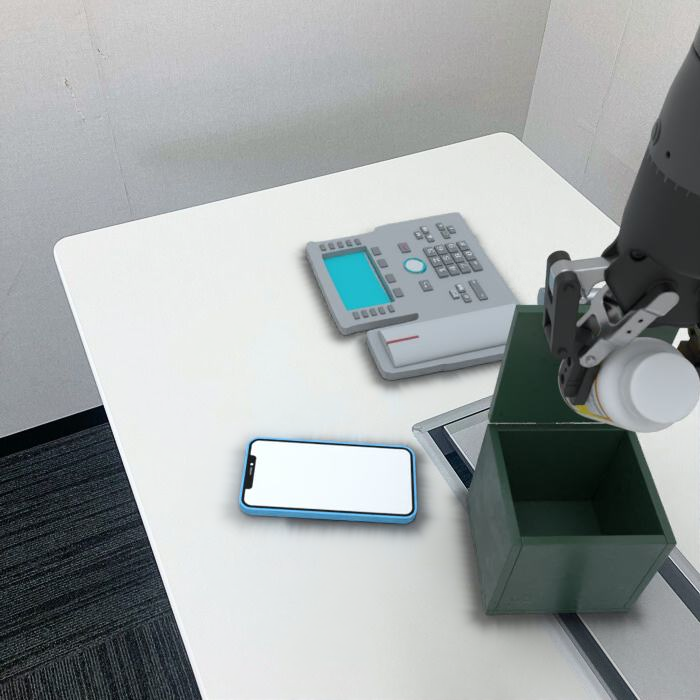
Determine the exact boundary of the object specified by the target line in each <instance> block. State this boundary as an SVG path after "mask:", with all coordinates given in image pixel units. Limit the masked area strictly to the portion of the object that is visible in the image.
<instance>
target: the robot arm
mask: <svg viewBox="0 0 700 700" xmlns="http://www.w3.org/2000/svg"><path fill="white" fill-rule="evenodd" d="M545 267H546V268H545V269H546V270H545V280H544V281H545V282H544V284H545V285H544V288H545V294H544V308H543V322H542V325H543V328H544V331H545V335H546V338H547V341H548V344H549V348H550V351H551V354H552V357H553V358H555V359H558V360H562V359H564V360H563V364H562V366H561V369H560V371H559V379H560V382H561V386H562V389H563V392H564V395H565V397H569V400H570V403H571V405H585V403H586V400H587V398H588V396H589V393H590V391H591V388H592V385H593V383H594V381H595V379H596V377H597V374H598V372H599V369H600V365H599V363H600V362H601V361H602V360H603V359H604V358H605V357H606V356H607V355H608V354H609V353H610V352H611V351H612V350H614V349H615V348H616V347H617V346H618V345H620V346H623V347H625V346H627V345H628V344H629V343H630V342H632V341H633V340H634V339H635V338H636V337H637V336H638V335H639V334H640V333H641V332H642V331H643V330H644V329H645V328H655V327H660V326H666V325H668V326H673V327H677V328H680V329H687V335H688V339H687V340H685V339H684V340H682V339H681V340H680V341H679V343H678V345H677V347H676V349H677V350H679V352H680V353H681V354H682V355H683V356H684V357H685V359H687V360H688V361H689V362H690V363H691V364H692V365H693V366H694V368H695V369H696V371H697V373H698V376H699V379H700V24H698V28H697V30H696V32H695V35H694V38H693V41H692V42H691V45H690V47H689V49H688V52H687V54H686V56H685V58H684V60H683V62H682V64H681V65H680V67H679V69H678V71H677V73H676V75H675V76H674V78H673V80H672V82H671V84H670V86H669V88H668V91H667V94H666V95H665V99H664V100H663V104H662V107H661V109H660V112H659V115H658V117H657V118H656V120H655V122H654V124H653V126H652V127H651V132H650V139H649V142H648V144H647V147H646V149H645V153H644V155H643V157H642V160H641V163H640V166H639V169H638V171H637V174H636V176H635V179H634V182H633V185H632V187H631V190H630V192H629V195H628V198H627V200H626V203H625V206H624V209H623V212H622V217H621V221H620V226H619V231H618V234H617V236H616V237H615V238H614V240H613V241H612V242H611V243H610V244H609V245H608V246H607V247H606V248H605V249H604V250H603V251H602V253H601V255H600V256H597V257H590V258H589V257H588V258H581V259H573V260H572V259H571V256H570V254H569V252H567V251H566V250H561V249H560V250H556V251H555V250H554V251H553V252H552V253H550V254H549V255H548V257H547V259H546V265H545ZM602 282H605V284H604V285H603V286H602V287H600V288H601V289H600V290H599V292H598V293H597V294H596V295H595V296H594V297H593V299H592V301H591V307H590V309H589V310H588V311H587V312H586V313H585V314H584V316H583V317H582V318H581V319H580V320H579V321H578V322H577V317H578V308H579V304H585V303H587V301H588V299H587V296H588V295H589V294H590V292H591V289H592V288H595V286H596V285H597V284H600V283H602ZM619 307H620V309H621V311H622V313H623V315H624V317H623V318H622V316H621V314H620V311H619ZM599 329H600V331H599V333H598V335H597V336H596V337H595V338H594V334H595V333H596V332H597V331H598V330H599Z"/></svg>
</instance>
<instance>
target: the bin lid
mask: <svg viewBox="0 0 700 700" xmlns="http://www.w3.org/2000/svg"><path fill="white" fill-rule="evenodd" d="M601 288H602V287H593V288H592V289H591V292H590V294H589V295H588V296H587V299H588V301H587V303H585V304H579V308H578V317H577V322H578V321H579V320H580V319H581V318H582V317H583V316H584V314H585V313H586V312H587V311H588V310H589V309H590V307H591V301H592V299H593V297H594V296H595V295H596V294H597V293H598V292H599V290H600V289H601ZM544 294H545V287H540V288H539V289H538V292H537V297H536V304H520V305H516V307H515V311H514V315H513V319H512V322H511V326H510V330H509V334H508V338H507V342H506V346H505V350H504V354H503V358H502V360H501V361H500V365H499V370H498V373H497V378H496V382H495V385H494V390H493V394H492V398H491V402H490V405H489V409H488V413H487V418H488V424H523V423H603V422H600V421H596V420H593V419H590V418H587V417H584V416H582V415H580V414H578V413H576V412H575V411H574V410H573V409H571V408H570V407H569V406H568V404H567V403H566V402H565V400H564V398H563V397H562V394H561V392H560V389H559V383H558V374H559V369H560V365H561V363H562V360H563V359H562V360H558V359H555V358H553V357H552V354H551V351H550V348H549V344H548V341H547V338H546V335H545V331H544V328H543V325H542V322H543V308H544ZM619 311H620V314H621V316H622V318H623V317H624V315H623V313H622V311H621V309H620V307H619ZM680 329H681V328H677V327H673V326H668V325H666V326H660V327H655V328H645V329H644V330H643V331H642V332H641V333H640V334H639V335H638V336H637V337H648V338H656V339H660V340H662V341H665V342H667V343H669V344H671V345H672V346H673V344H674V341H675V340H676V338H677V335H678V333H679V331H680ZM599 331H600V329H599V330H598V331H597V332H596V333H595V334H594V338H595V337H596V336H597V335H598V333H599Z"/></svg>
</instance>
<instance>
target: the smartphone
mask: <svg viewBox="0 0 700 700" xmlns="http://www.w3.org/2000/svg"><path fill="white" fill-rule="evenodd" d="M242 470H243V471H242V476H241V484H240V490H239V497H238V503H239V508H240V510H241V511H242V512H243V513H244V514H246V515H251V516H265V517H283V518H284V517H285V518H299V519H300V518H301V519H316V520H335V521H352V522H367V523H387V524H409V523H412V521H414V520H415V518H416V515H417V510H418V501H417V498H418V497H417V476H416V474H417V473H416V454H415V452H414V450H412V449H411V448H410V447H408V446H407V445H396V444H381V443H363V442H349V441H348V442H347V441H334V440H333V441H332V440H315V439H300V438H299V439H298V438H284V437H283V438H282V437H267V436H266V437H265V436H255V437H253V438H251V439H250V440H248V442H247V444H246V450H245V457H244V465H243V469H242Z"/></svg>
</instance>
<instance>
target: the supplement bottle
mask: <svg viewBox="0 0 700 700" xmlns="http://www.w3.org/2000/svg"><path fill="white" fill-rule="evenodd" d="M563 360H564V359H563ZM563 360H562V363H561V365H560V369H561V366H562V364H563ZM599 365H600V369H599V372H598V374H597V377H596V379H595V381H594V383H593V385H592V388H591V391H590V393H589V396H588V398H587V400H586V403H585V405H571V403H570V400H569V397H565V395H564V392H563V389H562V386H561V382H560V379H559V374H558V383H559V389H560V392H561V394H562V397H563V398H564V400H565V402H566V403H567V404H568V406H569V407H570V408H571V409H573V410H574V411H575V412H576V413H578V414H580V415H582V416H584V417H587V418H590V419H593V420H596V421H600V422H603V423H606V424H610V425H613V426H616V427H620V428H623V429H626V430H629V431H633V432H636V433H642V434H650V433H657V432H659V431H663V430H666V429H668V428H669V427H671V426H672V425H674V424H675V423H677V422H680V421H682V420H683V419H685V418H686V417H688V416H689V415H690V414H691V413H692V412H693V411H694V409H695V408H696V406H697V404H698V402H699V399H700V379H699V376H698V373H697V371H696V369H695V368H694V366H693V365H692V364H691V363H690V362H689V361H688V360H687V359H685V357H684V356H683V355H682V354H681V353H680V352H679V350H677V347H675V346H674V345H673V344H672V345H671V344H669V343H667V342H665V341H662V340H660V339H656V338H648V337H636V338H635V339H634V340H633V341H632V342H630V343H629V344H628V345H627V346H625V347H623V346H620V345H618V346H617V347H616V348H615V349H614V350H612V351H611V352H610V353H609V354H608V355H607V356H606V357H605V358H604V359H603V360H602V361H601V362H600V363H599ZM560 369H559V371H560Z"/></svg>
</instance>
